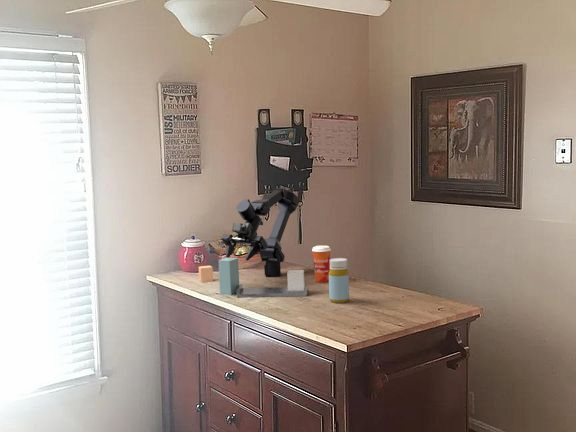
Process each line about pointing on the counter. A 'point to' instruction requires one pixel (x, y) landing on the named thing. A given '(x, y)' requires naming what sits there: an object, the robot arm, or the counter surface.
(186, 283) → the counter surface
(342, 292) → the bottle
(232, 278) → the block
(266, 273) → the robot arm
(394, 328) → the counter surface
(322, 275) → the paper cup
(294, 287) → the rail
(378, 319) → the counter surface
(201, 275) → the block
